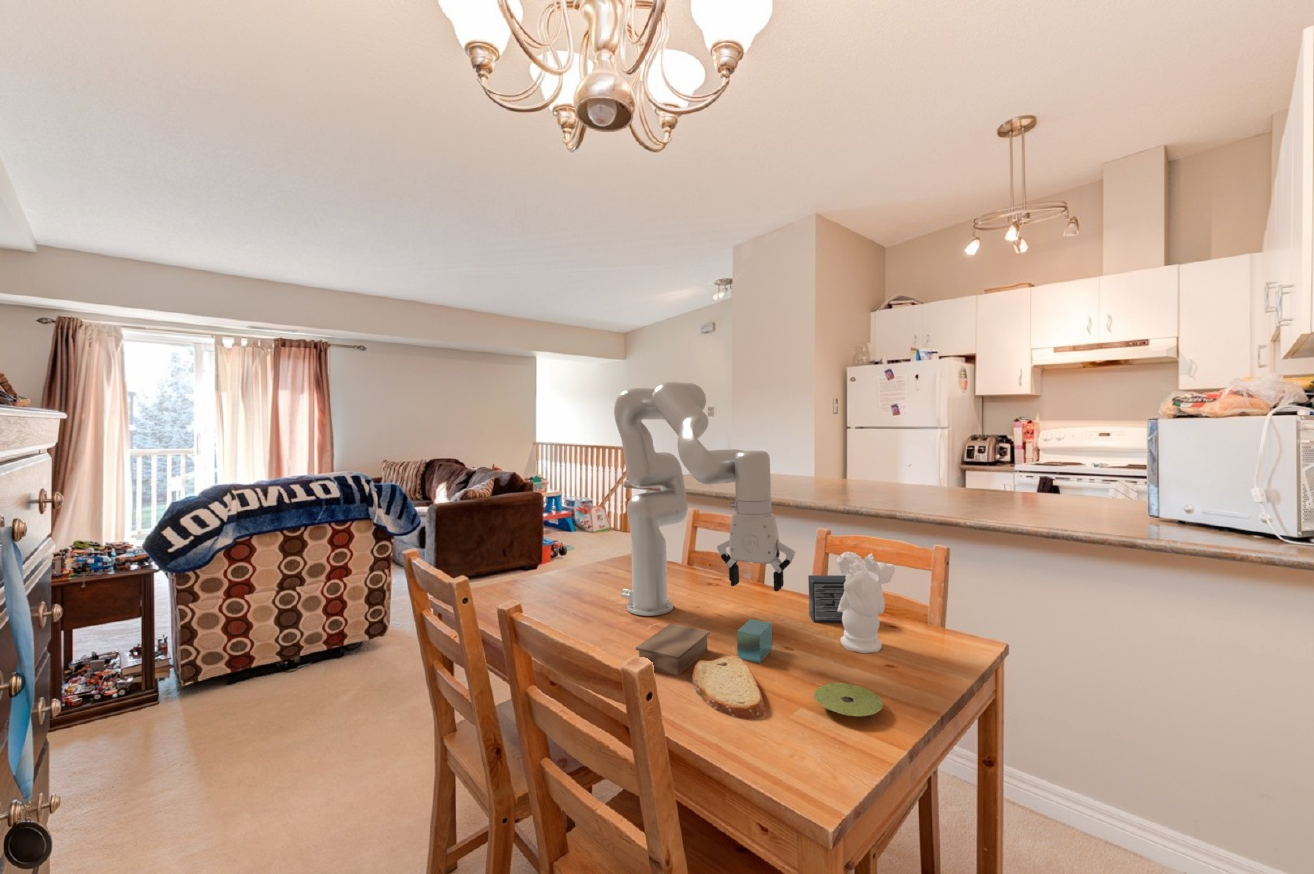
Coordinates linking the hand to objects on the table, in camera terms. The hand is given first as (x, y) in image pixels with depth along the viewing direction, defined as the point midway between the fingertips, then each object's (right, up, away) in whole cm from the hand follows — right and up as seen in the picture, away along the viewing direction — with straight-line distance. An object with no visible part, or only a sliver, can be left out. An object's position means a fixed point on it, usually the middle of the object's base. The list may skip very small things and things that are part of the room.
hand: (756, 587), depth 116 cm
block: (0, -15, +1) cm, 15 cm away
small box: (+23, -14, +21) cm, 34 cm away
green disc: (+12, -15, -22) cm, 30 cm away
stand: (-18, -15, -1) cm, 23 cm away
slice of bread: (-7, -16, -14) cm, 22 cm away
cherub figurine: (+26, -14, +4) cm, 30 cm away
